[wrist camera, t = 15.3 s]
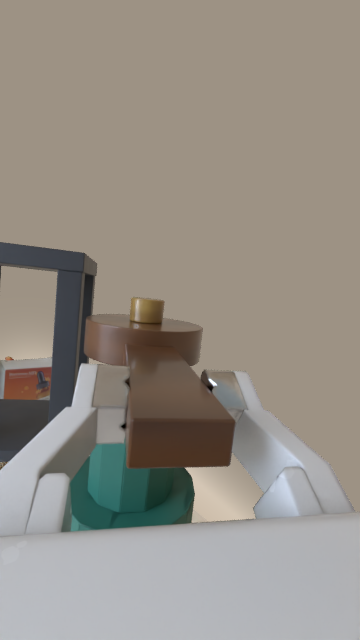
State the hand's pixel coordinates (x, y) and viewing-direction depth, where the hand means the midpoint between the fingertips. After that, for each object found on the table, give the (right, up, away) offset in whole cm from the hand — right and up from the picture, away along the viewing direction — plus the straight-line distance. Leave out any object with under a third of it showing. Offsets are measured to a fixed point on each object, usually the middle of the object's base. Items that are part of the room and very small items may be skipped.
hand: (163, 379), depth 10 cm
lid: (-1, -1, +4) cm, 4 cm away
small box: (-23, -15, +35) cm, 45 cm away
